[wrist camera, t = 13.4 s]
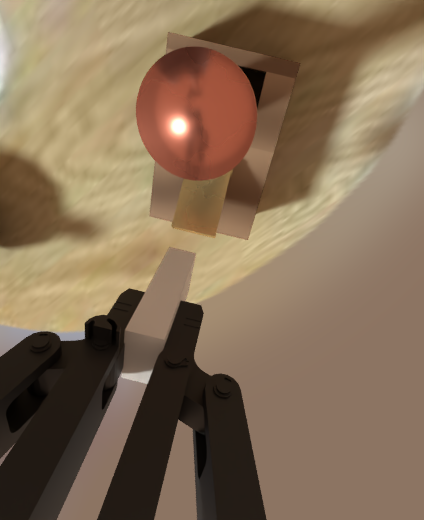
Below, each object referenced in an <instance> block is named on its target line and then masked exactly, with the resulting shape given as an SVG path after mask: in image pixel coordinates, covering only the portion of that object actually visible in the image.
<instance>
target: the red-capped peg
mask: <svg viewBox="0 0 424 520" xmlns="http://www.w3.org/2000/svg"><path fill="white" fill-rule="evenodd" d="M136 117H137V125H138V129H139V133H140V136H141V139H142V141H143V143H144V145H145V147H146V149H147V150H148V152H149V154H150V155H151V156H152V157H153V159H154V160H155V161H156V162H157V163H158V164H159V165H160V166H161V167H163V168H164V169H165V170H167V171H168V172H170V173H171V174H173V175H176V176H178V177H180V178H184V179H187V180H193V181H203V180H210V179H215V178H217V177H220V176H222V175H224V174H226V173H228V172H229V171H231V170H232V169H233V168H235V167H236V166H237V165H238V164H239V163H240V162H241V160H242V159H243V158H244V157H245V155H246V153H247V152H248V150H249V148H250V146H251V144H252V141H253V138H254V135H255V131H256V125H257V104H256V98H255V94H254V91H253V88H252V86H251V84H250V81H249V80H248V78H247V76H246V75H245V73H244V72H243V71H242V70H241V68H240V67H239V66H238V65H237V64H236V63H235V62H234V61H232V60H231V59H229V58H228V57H226V56H225V55H223V54H221V53H219V52H217V51H215V50H212V49H209V48H205V47H198V46H197V47H184V48H179V49H177V50H174V51H171V52H170V53H168V54H166V55H164V56H163V57H162V58H160V59H159V60H158V61H157V62H156V63H155V64H154V65H153V66H152V67H151V68H150V70H149V71H148V72H147V74H146V76H145V77H144V79H143V81H142V84H141V86H140V89H139V93H138V97H137V104H136Z"/></svg>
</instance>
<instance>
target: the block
mask: <svg viewBox="0 0 424 520" xmlns="http://www.w3.org/2000/svg"><path fill="white" fill-rule="evenodd" d="M197 46H198V47H205V48H209V49H212V50H215V51H217V52H219V53H221V54H223V55H225V56H226V57H228V58H229V59H231V60H232V61H234V62H235V63H236V64H237V65H238V66H239V67H243V68H247V69H251V70H256V71H260V72H264V73H265V76H264V80H263V84H262V88H261V92H260V96H259V100H258V104H257V125H256V131H255V135H254V138H253V141H252V144H251V146H250V148H249V150H248V152H247V153H246V155H245V157H244V158H243V159H242V160H241V162H240V163H239V164H238V165H237V166H236V167H235V168H234V169H233V173H232V177H230V179H229V183H228V187H227V191H226V195H225V199H224V204H223V208H222V212H221V216H220V220H219V224H218V228H217V232H216V233H221V234H225V235H229V236H233V237H237V238H241V239H245V240H248V238H249V235H250V231H251V228H252V225H253V221H254V218H255V214H256V211H257V208H258V204H259V201H260V198H261V194H262V191H263V188H264V184H265V181H266V177H267V174H268V171H269V167H270V164H271V161H272V157H273V154H274V151H275V147H276V144H277V140H278V137H279V134H280V130H281V127H282V124H283V120H284V117H285V114H286V110H287V107H288V103H289V100H290V97H291V93H292V90H293V87H294V83H295V80H296V77H297V73H298V70H299V66H300V63H298V62H293V61H289V60H285V59H281V58H276V57H272V56H268V55H264V54H259V53H255V52H251V51H247V50H242V49H238V48H234V47H230V46H225V45H221V44H217V43H213V42H208V41H204V40H200V39H196V38H191V37H187V36H183V35H179V34H175V33H170V32H168V37H167V47H166V54H168V53H170V52H171V51H174V50H177V49H179V48H184V47H197ZM183 179H184V178H180V177H178V176H176V175H173V174H171V173H170V172H168V171H167V170H165V169H164V168H163V167H161V166H160V165H159V164H158V163H157V162H156V161H155V166H154V176H153V186H152V196H151V206H150V217H154V218H159V219H163V220H167V221H171V222H173V218H174V214H175V210H176V206H177V202H178V199H179V195H180V191H181V187H182V183H183Z"/></svg>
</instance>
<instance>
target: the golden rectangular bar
mask: <svg viewBox="0 0 424 520" xmlns="http://www.w3.org/2000/svg"><path fill="white" fill-rule="evenodd" d="M233 169H234V168H233ZM233 169H232V170H231V171H229V172H228V173H226V174H224V175H222V176H220V177H217V178H215V179H210V180H203V181H193V180H187V179H183V183H182V187H181V191H180V195H179V199H178V202H177V206H176V210H175V214H174V218H173V222H172V227H173V228H175V229H179V230H183V231H187V232H191V233H195V234H199V235H203V236H208V237H212V238H215V236H216V232H217V228H218V224H219V220H220V216H221V212H222V208H223V204H224V199H225V195H226V191H227V187H228V183H229V179H230V177H232V173H233Z"/></svg>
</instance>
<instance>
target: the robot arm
mask: <svg viewBox="0 0 424 520" xmlns="http://www.w3.org/2000/svg"><path fill="white" fill-rule="evenodd" d="M195 256H196V253H192V252H188V251H184V250H180V249H176V248H172V247H169V249H168V251H167V253H166V254H165V256H164V258H163V260H162V262H161V264H160V266H159V267H158V269H157V271H156V273H155V275H154V277H153V279H152V281H151V282H150V284H149V286H148V288H147V290H146V292H142V291H138V290H134V289H128V290H126V291H125V292H123V293H121V295H120V296H119V298H118V299H117V301H116V303H115V304H114V305H113V307H112V309H111V310H110V312H109V313H108V315H99V316H95V317H92V318H90V319H89V320H88V321H87V322H85V339H83V340H78V341H61V340H60V338H59V336H58V335H56V334H55V333H52V332H38V333H34V334H32V335H30V336H28V337H26V338H25V339H24V340H22V341H21V342H20V343H18V344H17V345H16V346H14V347H13V348H12V349H10V350H9V351H8V352H6V353H5V354H4V355H2V356H1V357H0V458H1V457H2V456H3V455H4V454H5V453H6V452H7V451H8V450H9V449H10V448H11V447H12V446H13V445H14V444H15V445H14V446H13V448H12V449H11V451H10V452H9V454H8V455H7V457H6V458H5V460H4V461H3V463H2V464H1V466H0V520H57V518H58V515H59V513H60V511H61V509H62V507H63V505H64V502H65V500H66V498H67V496H68V493H69V491H70V489H71V487H72V485H73V483H74V480H75V478H76V476H77V474H78V472H79V470H80V467H81V465H82V463H83V461H84V459H85V456H86V454H87V452H88V450H89V447H90V446H91V443H92V441H93V439H94V437H95V434H96V432H97V430H98V428H99V426H100V424H101V421H102V419H103V417H104V415H105V413H106V411H107V408H108V406H109V404H110V402H111V400H112V398H113V395H114V393H115V391H116V388H117V381H118V378H119V376H120V374H121V371H122V378H126V379H130V380H134V381H138V382H142V383H146V384H147V387H146V389H145V392H144V395H143V398H142V400H141V403H140V406H139V408H138V411H137V414H136V417H135V419H134V422H133V425H132V427H131V430H130V433H129V435H128V438H127V441H126V443H125V446H124V449H123V452H122V454H121V457H120V460H119V463H118V465H117V468H116V470H115V473H114V476H113V478H112V481H111V484H110V487H109V489H108V492H107V495H106V497H105V500H104V503H103V506H102V508H101V511H100V514H99V516H98V519H97V520H154V517H155V513H156V509H157V505H158V500H159V496H160V492H161V488H162V484H163V480H164V476H165V471H166V468H167V463H168V459H169V455H170V451H171V447H172V442H173V439H174V435H175V430H176V426H177V422H178V419H179V420H180V421H182V422H183V423H185V424H186V425H188V426H189V427H191V428H192V429H193V444H194V464H195V483H196V484H195V485H196V506H197V520H266V515H265V510H264V505H263V500H262V495H261V490H260V485H259V480H258V475H257V470H256V465H255V460H254V455H253V450H252V445H251V440H250V435H249V429H248V424H247V419H246V415H245V409H244V404H243V400H242V394H241V390H240V387H239V385H238V383H237V382H236V381H235V380H234V379H233V378H232V377H230V376H228V375H225V374H215V375H213V376H210V375H208V374H207V373H205V372H203V371H202V370H201V369H200V368H199V367H198V366H197V365H196V363H195V360H194V351H195V347H196V343H197V339H198V335H199V330H200V326H201V322H202V318H203V314H204V313H203V310H202V307H201V305H197V304H193V303H189V302H185V300H186V297H187V294H188V291H189V286H190V281H191V276H192V271H193V266H194V261H195Z"/></svg>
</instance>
